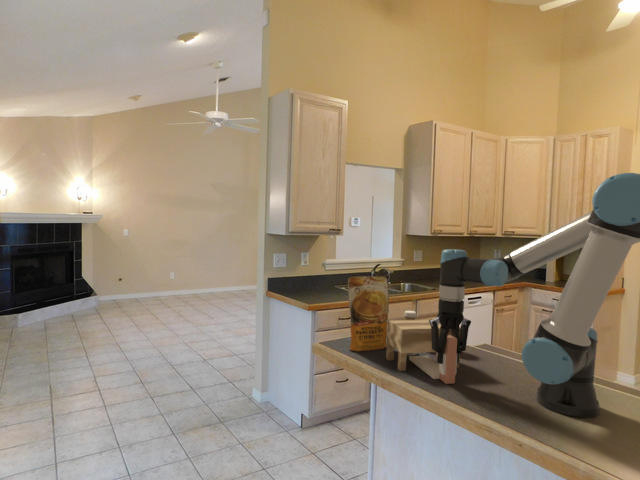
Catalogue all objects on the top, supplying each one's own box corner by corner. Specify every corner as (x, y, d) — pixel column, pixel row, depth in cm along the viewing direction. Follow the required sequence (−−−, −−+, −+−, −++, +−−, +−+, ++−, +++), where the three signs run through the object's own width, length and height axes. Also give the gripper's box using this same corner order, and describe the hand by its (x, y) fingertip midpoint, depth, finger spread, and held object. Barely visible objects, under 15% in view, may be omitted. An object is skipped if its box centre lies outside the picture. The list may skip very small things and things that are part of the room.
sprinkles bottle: (400, 342, 167) (402, 310, 167) (411, 342, 169) (412, 310, 168) (405, 346, 163) (407, 312, 162) (416, 345, 164) (418, 312, 163)
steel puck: (419, 356, 152) (420, 351, 152) (405, 357, 150) (406, 352, 150) (410, 351, 158) (411, 346, 158) (397, 352, 156) (397, 347, 156)
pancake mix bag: (340, 347, 158) (344, 275, 156) (383, 343, 165) (387, 274, 164) (348, 353, 152) (352, 278, 150) (392, 348, 159) (396, 277, 157)
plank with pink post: (460, 383, 127) (463, 338, 127) (440, 384, 126) (442, 339, 125) (426, 358, 149) (428, 320, 148) (409, 359, 147) (411, 321, 146)
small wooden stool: (459, 368, 141) (461, 328, 140) (400, 371, 136) (402, 329, 135) (441, 356, 153) (443, 319, 152) (386, 358, 147) (388, 320, 147)
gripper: (467, 296, 133) (463, 367, 134) (421, 296, 129) (418, 370, 130) (481, 301, 125) (477, 376, 126) (433, 301, 122) (429, 379, 123)
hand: (447, 373), depth 128 cm, fingers closed on plank with pink post, 3 cm apart
